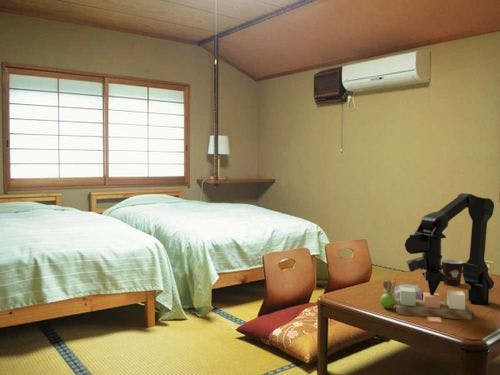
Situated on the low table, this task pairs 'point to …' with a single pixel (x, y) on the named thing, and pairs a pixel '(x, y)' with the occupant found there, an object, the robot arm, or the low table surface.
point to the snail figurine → (388, 294)
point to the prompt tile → (434, 319)
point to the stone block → (417, 289)
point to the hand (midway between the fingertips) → (431, 294)
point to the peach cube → (431, 300)
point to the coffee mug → (452, 271)
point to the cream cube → (456, 299)
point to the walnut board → (433, 310)
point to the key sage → (407, 296)
